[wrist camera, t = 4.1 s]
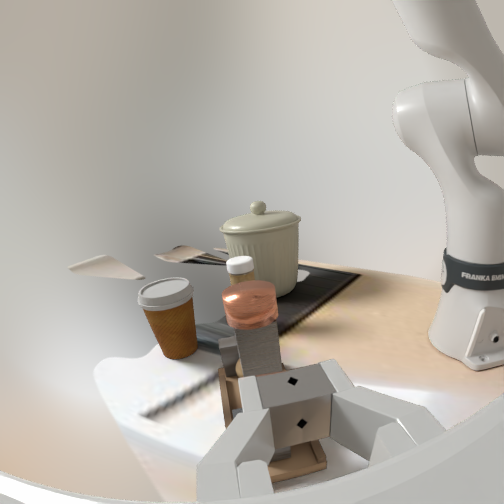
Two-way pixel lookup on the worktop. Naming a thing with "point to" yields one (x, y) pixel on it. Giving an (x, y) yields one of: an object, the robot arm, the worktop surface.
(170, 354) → the disposable coffee cup
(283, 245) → the canister
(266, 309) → the slider
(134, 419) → the worktop surface
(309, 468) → the cracker bench
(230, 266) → the sprinkles bottle
